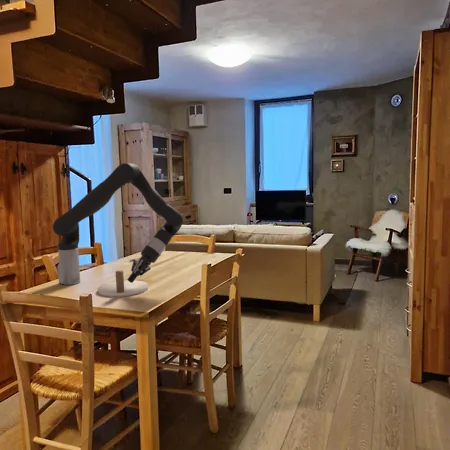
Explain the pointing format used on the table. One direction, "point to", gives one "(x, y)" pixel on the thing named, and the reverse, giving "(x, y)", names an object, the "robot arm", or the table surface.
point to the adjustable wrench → (135, 259)
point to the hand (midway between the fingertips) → (129, 281)
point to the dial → (122, 287)
